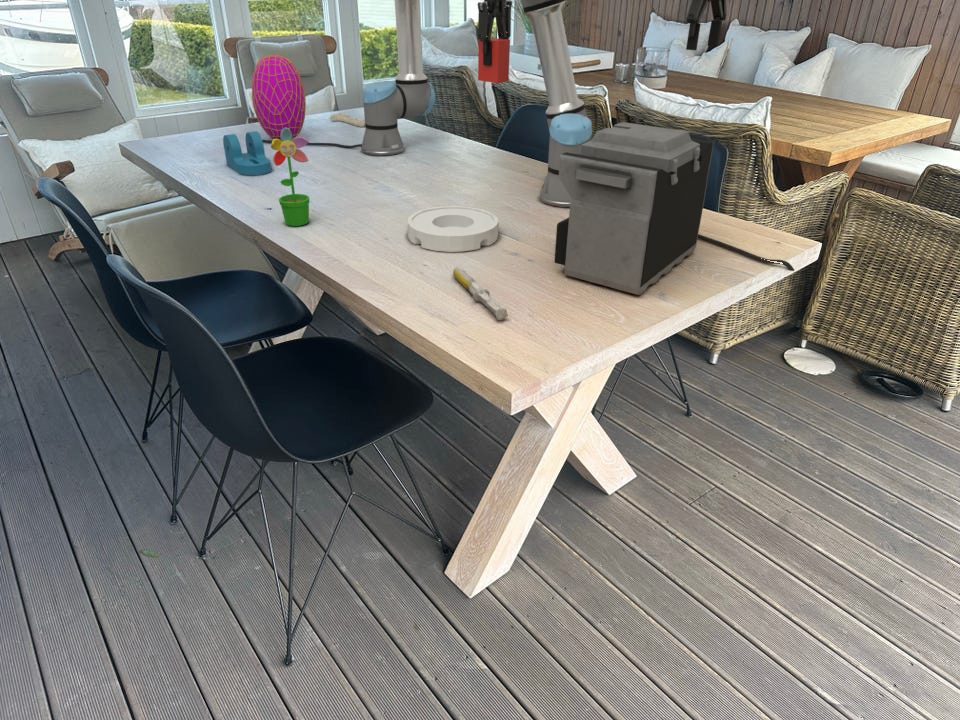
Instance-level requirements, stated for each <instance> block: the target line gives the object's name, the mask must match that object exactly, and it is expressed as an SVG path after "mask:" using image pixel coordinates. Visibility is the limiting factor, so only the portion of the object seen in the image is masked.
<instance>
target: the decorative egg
mask: <svg viewBox="0 0 960 720" xmlns="http://www.w3.org/2000/svg"><path fill="white" fill-rule="evenodd" d="M253 70H254V71H253V73H252V77H251V101H252V107H253V110H254V114H255V116H256V118H257V121H258V123H259V125H260V127H261V128H262V130H263V131H264V133H266V135H267V136H268V137H270V138H271V139H272V140H273V139H279V140H281V136H280V134H281V131H282V130H283V129H284V128H288V129H289V130H290V131H291V134H292V139H293V138H295V137H298V136H299V134H301V131H302V129H303V127H304V123H305V118H306V104H307V103H306V102H307V101H306V99H307V97H306V93H305V88H304V84H303V81H302V77H301V75H300V73H299V71H298V69H297V67H296V66H295V65H294V63H293V62H292V61H291V60H290V59H288V58H287V57H285V56H282V55H280V54H268V55H265V56H262V57H261V58H260V59H259V60H258V61H257V62H256V65H255V68H254V69H253ZM281 141H282V140H281Z"/></svg>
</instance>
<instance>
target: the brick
mask: <svg viewBox="0 0 960 720" xmlns="http://www.w3.org/2000/svg"><path fill="white" fill-rule="evenodd" d="M490 42H492V66H487V65H483V42H482V41H480V40H479V39H478V49H477V50H478V51H477V53H478V56H477V81H479V82H487V83H492V84H501V83H507V82H509V81H510V54H511V53H510V50H511V49H510V48H511V39H509V40H507V39H499V38H498V37H497V38H495V37H491V39H490Z"/></svg>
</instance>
